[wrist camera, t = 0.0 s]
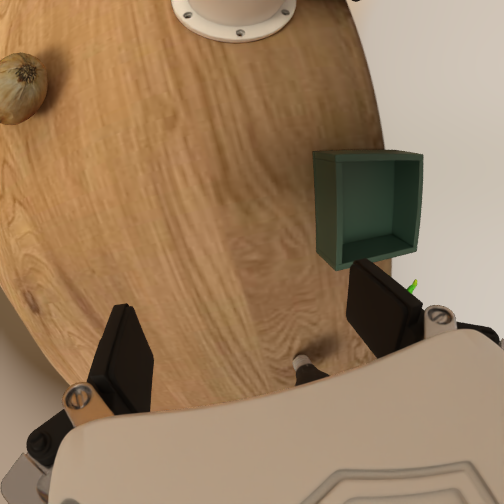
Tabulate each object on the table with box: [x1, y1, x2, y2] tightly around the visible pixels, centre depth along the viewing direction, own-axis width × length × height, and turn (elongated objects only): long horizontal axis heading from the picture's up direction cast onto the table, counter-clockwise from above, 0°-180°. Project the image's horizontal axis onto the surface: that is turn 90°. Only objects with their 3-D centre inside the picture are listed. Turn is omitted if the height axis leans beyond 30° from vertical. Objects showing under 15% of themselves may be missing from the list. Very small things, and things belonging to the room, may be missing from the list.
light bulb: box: [293, 355, 329, 386], centre depth 33 cm, size 6×6×10 cm
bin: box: [312, 150, 423, 271], centre depth 27 cm, size 11×11×5 cm
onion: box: [0, 53, 48, 125], centre depth 14 cm, size 8×8×8 cm
